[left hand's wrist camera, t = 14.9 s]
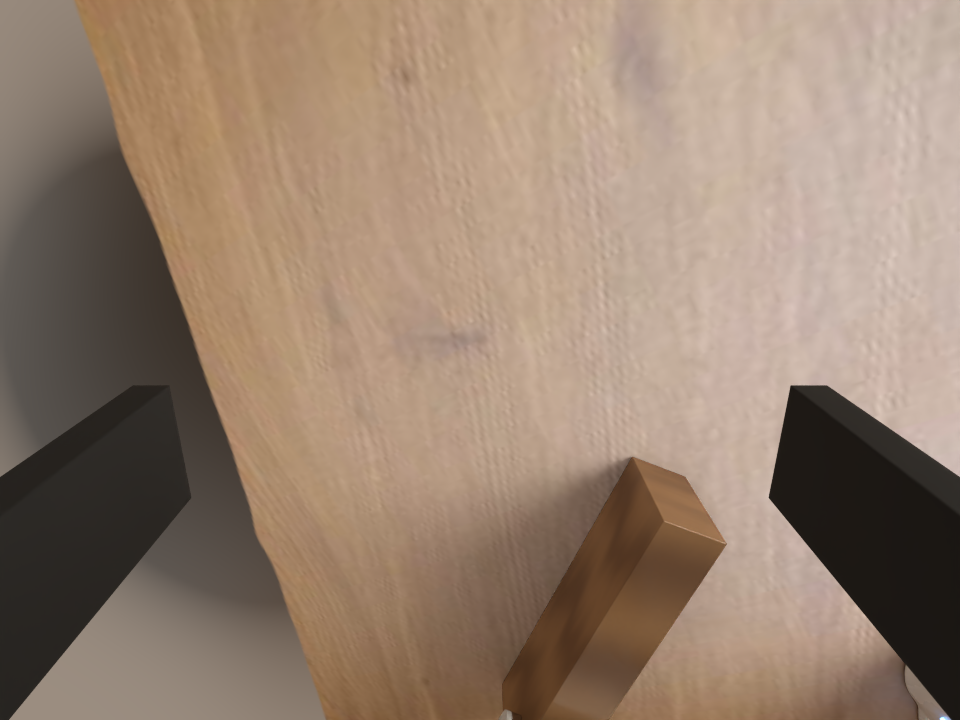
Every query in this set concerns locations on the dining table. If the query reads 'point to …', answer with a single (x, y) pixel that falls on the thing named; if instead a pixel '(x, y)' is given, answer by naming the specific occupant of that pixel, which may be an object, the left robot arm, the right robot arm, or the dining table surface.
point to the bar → (615, 599)
